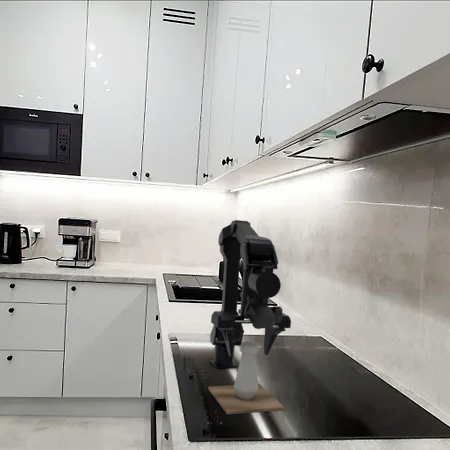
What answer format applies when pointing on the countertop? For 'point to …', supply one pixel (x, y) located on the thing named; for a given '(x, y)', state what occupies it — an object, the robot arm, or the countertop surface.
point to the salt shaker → (247, 372)
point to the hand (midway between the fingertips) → (248, 355)
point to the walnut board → (236, 405)
